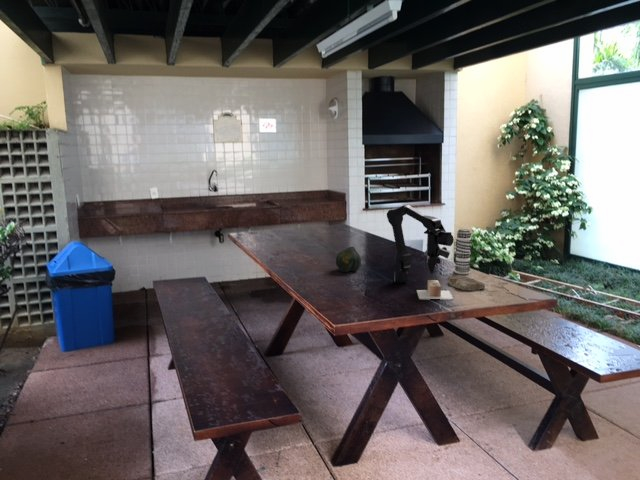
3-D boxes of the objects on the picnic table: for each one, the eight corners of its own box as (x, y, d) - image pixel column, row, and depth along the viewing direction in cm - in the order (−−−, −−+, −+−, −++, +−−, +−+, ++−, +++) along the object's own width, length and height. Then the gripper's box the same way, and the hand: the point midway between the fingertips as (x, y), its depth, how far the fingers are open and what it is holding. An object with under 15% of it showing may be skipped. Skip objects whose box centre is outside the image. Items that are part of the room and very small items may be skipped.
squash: (327, 262, 309) (343, 244, 302) (338, 258, 322) (354, 241, 316) (343, 280, 305) (360, 262, 299) (354, 275, 318) (370, 258, 312)
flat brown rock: (441, 283, 284) (462, 292, 265) (442, 274, 283) (463, 282, 264) (464, 281, 288) (486, 290, 269) (464, 272, 287) (487, 280, 268)
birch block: (427, 289, 268) (430, 296, 256) (427, 280, 267) (430, 286, 255) (437, 289, 267) (440, 296, 255) (437, 280, 266) (441, 286, 254)
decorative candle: (471, 274, 300) (473, 230, 295) (454, 273, 301) (456, 230, 297) (470, 270, 308) (472, 228, 304) (453, 270, 310) (455, 227, 306)
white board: (419, 299, 253) (419, 298, 253) (416, 291, 267) (416, 290, 267) (453, 299, 252) (453, 298, 252) (448, 291, 266) (449, 290, 265)
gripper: (451, 247, 257) (450, 278, 260) (446, 240, 275) (445, 269, 278) (428, 246, 258) (427, 277, 261) (425, 239, 276) (423, 268, 279)
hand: (431, 273), depth 270 cm, fingers closed
